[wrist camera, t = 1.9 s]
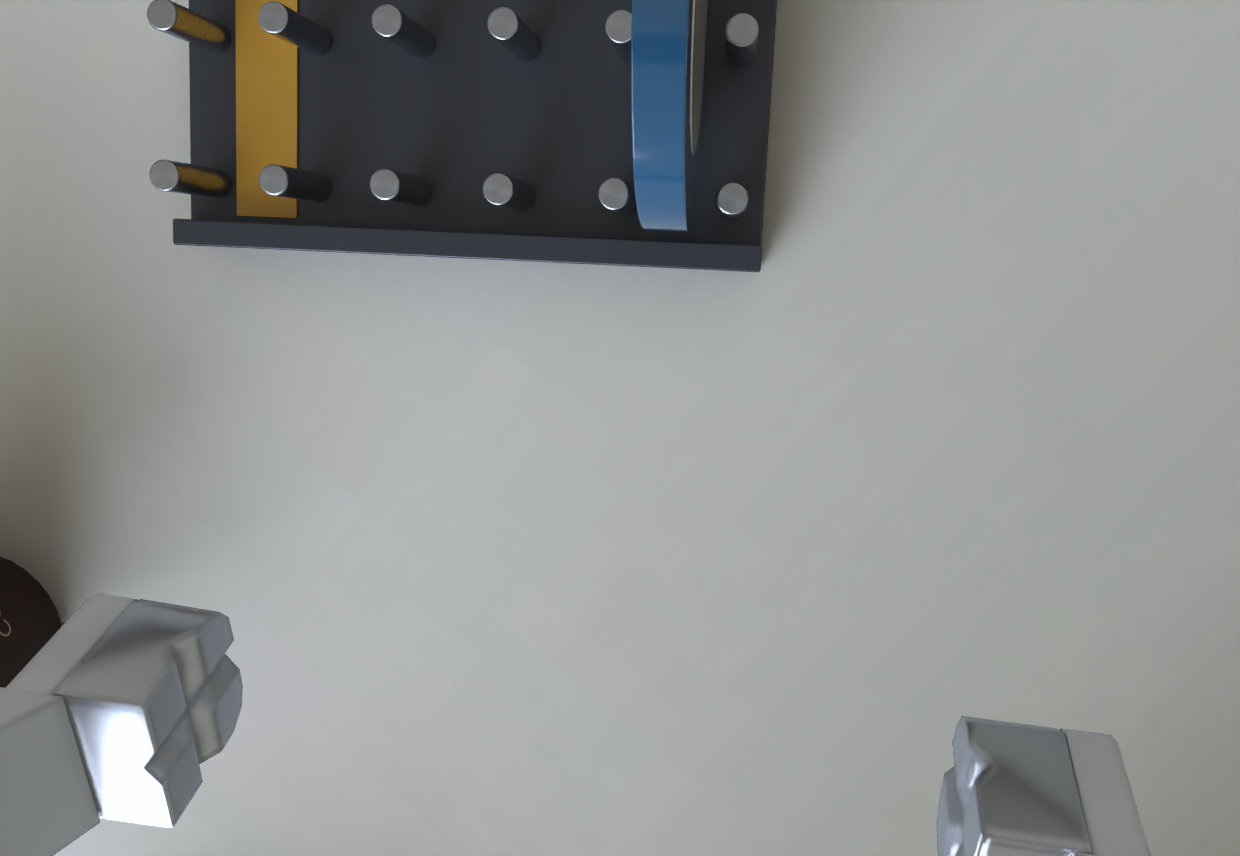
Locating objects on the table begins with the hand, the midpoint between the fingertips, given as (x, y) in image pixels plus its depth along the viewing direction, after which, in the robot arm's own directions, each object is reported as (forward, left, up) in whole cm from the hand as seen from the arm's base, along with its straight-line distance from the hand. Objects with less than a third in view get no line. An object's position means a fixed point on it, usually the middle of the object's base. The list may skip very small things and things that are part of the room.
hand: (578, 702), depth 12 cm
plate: (-2, -11, -24) cm, 26 cm away
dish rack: (+5, -12, -25) cm, 28 cm away
